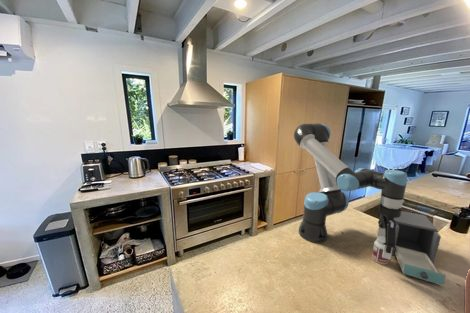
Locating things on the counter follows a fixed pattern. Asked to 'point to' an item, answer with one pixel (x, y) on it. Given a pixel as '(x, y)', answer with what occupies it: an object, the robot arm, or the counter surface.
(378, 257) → the pill bottle
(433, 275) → the tray
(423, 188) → the counter surface
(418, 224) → the housing
